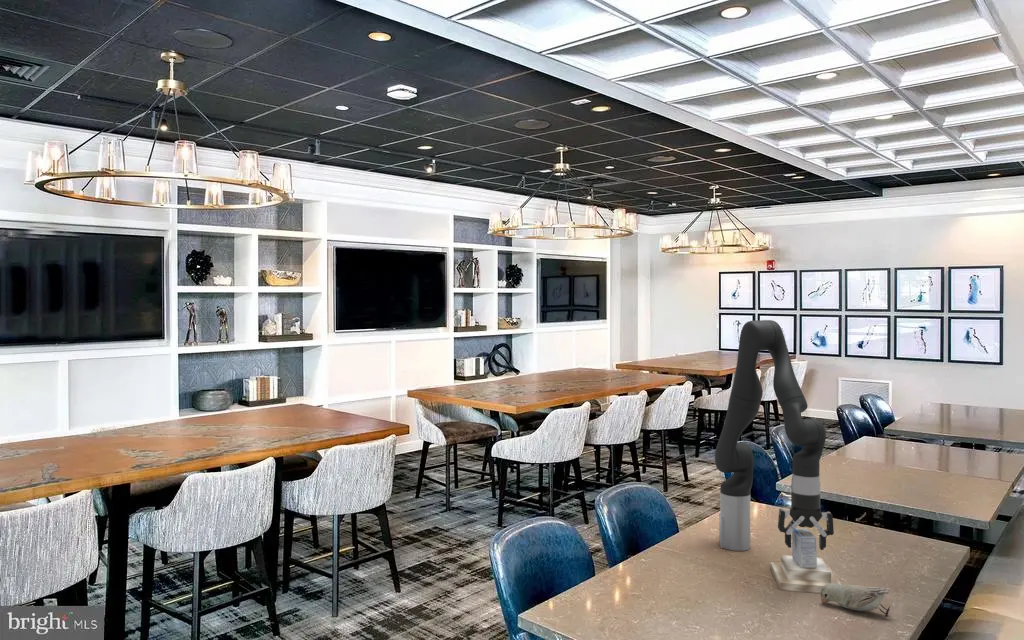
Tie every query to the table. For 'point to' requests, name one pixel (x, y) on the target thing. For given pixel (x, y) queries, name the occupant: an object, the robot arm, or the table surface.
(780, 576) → the pedestal
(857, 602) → the decorative bird
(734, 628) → the table surface
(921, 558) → the table surface
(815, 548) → the medicine box
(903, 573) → the table surface
